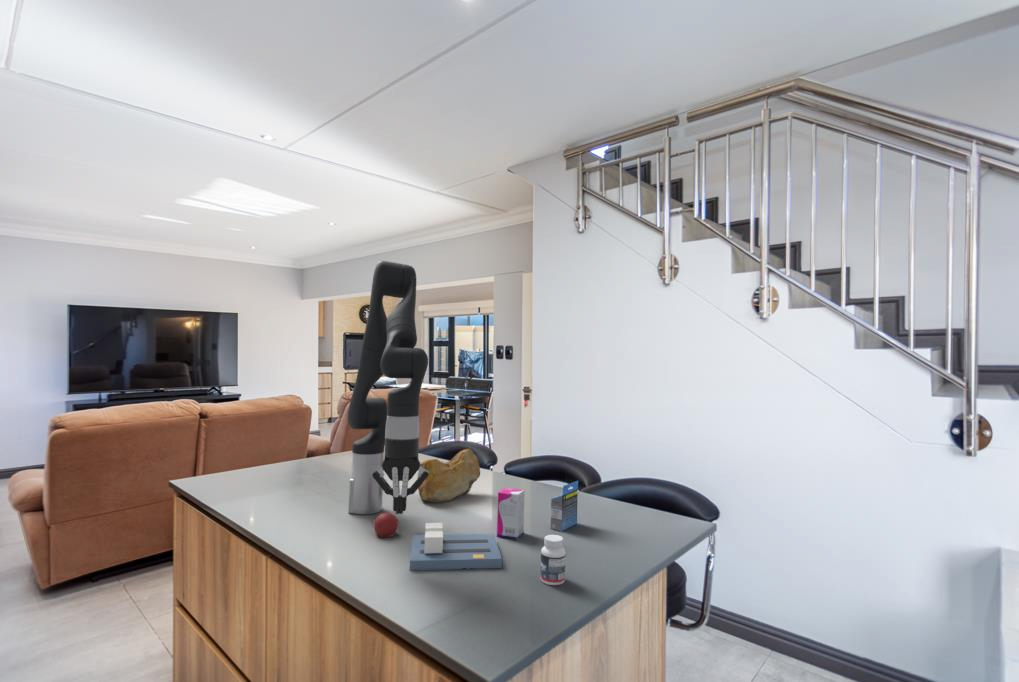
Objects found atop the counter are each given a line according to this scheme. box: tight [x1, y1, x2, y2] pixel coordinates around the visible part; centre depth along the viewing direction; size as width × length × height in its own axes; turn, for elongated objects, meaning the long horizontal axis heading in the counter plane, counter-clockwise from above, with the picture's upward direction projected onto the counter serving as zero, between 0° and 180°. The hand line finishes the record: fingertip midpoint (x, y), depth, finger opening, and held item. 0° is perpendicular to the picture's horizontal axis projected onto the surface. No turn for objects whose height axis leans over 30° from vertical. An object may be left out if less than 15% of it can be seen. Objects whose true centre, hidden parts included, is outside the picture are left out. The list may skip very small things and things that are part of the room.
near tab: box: [424, 530, 444, 553], centre depth 117 cm, size 4×4×4 cm
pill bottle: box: [539, 534, 567, 586], centre depth 108 cm, size 5×5×9 cm
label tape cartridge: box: [550, 480, 579, 532], centre depth 143 cm, size 9×4×12 cm, turn 145°
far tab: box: [424, 522, 444, 532], centre depth 123 cm, size 4×4×4 cm
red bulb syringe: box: [371, 512, 399, 538], centre depth 132 cm, size 6×6×8 cm
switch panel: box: [409, 533, 503, 571], centre depth 120 cm, size 20×16×2 cm
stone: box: [416, 448, 481, 503], centre depth 172 cm, size 23×17×15 cm
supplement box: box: [496, 487, 526, 540], centre depth 135 cm, size 6×6×12 cm
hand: (399, 512), depth 116 cm, fingers closed
